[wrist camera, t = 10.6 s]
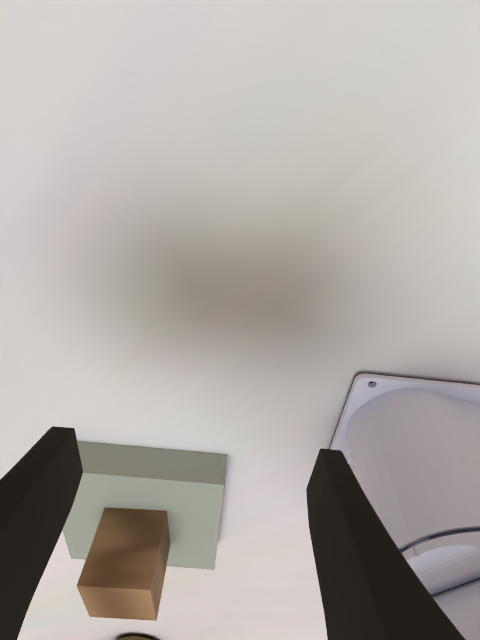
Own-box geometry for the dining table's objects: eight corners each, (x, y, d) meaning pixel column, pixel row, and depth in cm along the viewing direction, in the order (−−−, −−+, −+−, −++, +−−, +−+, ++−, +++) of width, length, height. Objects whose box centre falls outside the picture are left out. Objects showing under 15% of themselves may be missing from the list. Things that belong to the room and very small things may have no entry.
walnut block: (166, 510, 27) (150, 590, 23) (170, 543, 29) (156, 620, 25) (104, 507, 27) (76, 585, 23) (113, 539, 29) (89, 616, 25)
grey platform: (227, 447, 28) (224, 484, 25) (217, 533, 34) (214, 569, 32) (63, 433, 27) (44, 469, 25) (85, 522, 34) (71, 558, 31)
